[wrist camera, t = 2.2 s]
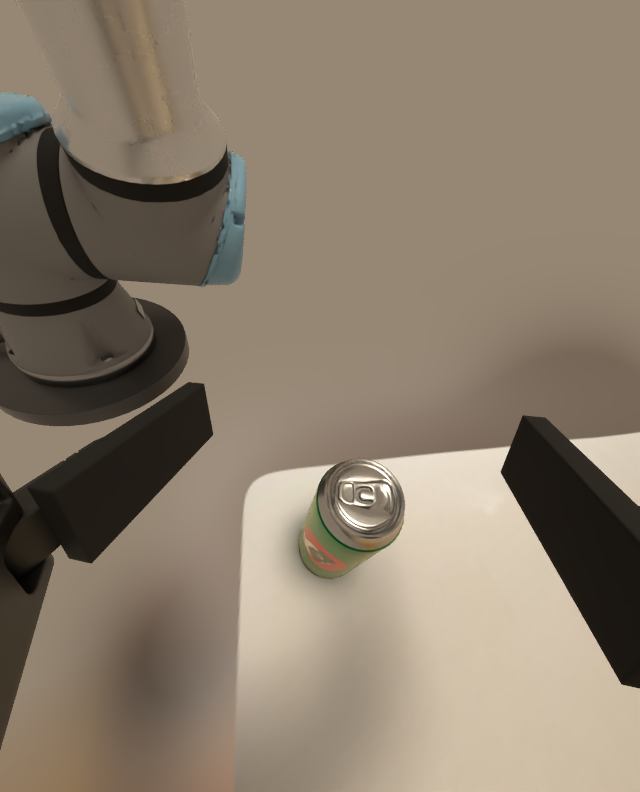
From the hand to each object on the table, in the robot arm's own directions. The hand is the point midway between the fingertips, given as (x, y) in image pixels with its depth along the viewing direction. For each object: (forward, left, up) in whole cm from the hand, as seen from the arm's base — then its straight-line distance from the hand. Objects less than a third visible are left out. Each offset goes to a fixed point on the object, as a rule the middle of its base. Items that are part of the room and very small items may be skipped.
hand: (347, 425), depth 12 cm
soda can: (+2, -1, -17) cm, 17 cm away
